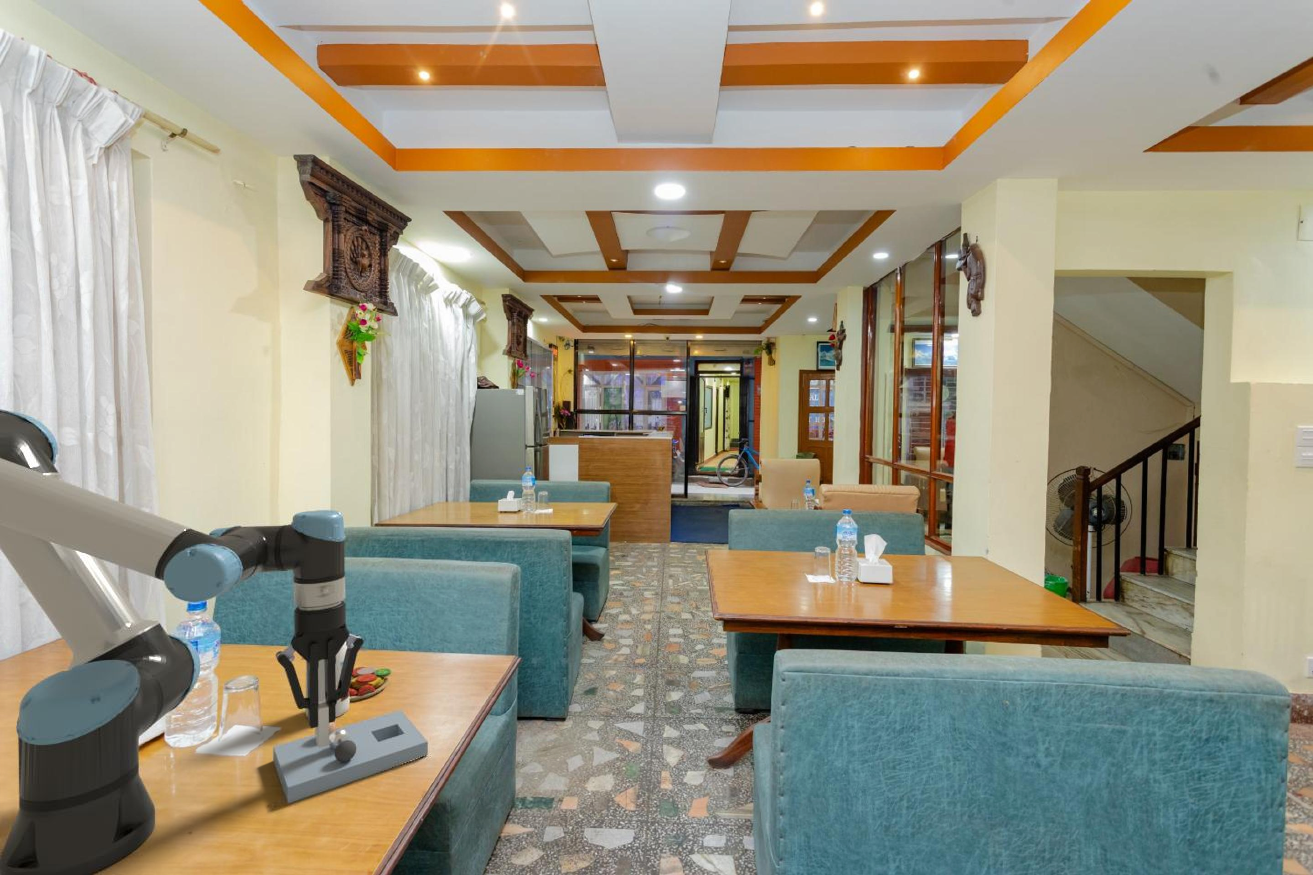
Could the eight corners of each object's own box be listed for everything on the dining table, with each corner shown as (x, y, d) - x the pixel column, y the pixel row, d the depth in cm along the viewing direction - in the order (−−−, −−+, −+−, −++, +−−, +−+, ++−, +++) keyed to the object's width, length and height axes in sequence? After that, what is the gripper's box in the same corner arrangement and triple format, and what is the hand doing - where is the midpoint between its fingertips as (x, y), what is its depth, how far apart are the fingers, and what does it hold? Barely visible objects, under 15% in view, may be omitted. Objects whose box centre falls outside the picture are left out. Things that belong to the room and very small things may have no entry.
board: (287, 803, 90) (287, 787, 90) (273, 760, 102) (273, 746, 102) (427, 755, 104) (427, 741, 104) (400, 722, 115) (400, 709, 115)
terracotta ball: (317, 744, 102) (317, 726, 102) (313, 737, 105) (313, 719, 105) (337, 738, 104) (337, 720, 104) (333, 731, 107) (333, 713, 107)
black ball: (337, 768, 95) (337, 748, 95) (332, 759, 98) (332, 740, 98) (358, 761, 97) (358, 741, 97) (353, 752, 100) (353, 734, 100)
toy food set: (306, 701, 124) (306, 686, 124) (348, 675, 137) (348, 661, 137) (364, 706, 122) (364, 691, 122) (401, 680, 135) (401, 665, 135)
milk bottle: (330, 723, 114) (330, 620, 114) (296, 719, 116) (296, 617, 116) (358, 705, 122) (358, 608, 122) (325, 701, 124) (325, 606, 123)
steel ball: (337, 730, 100) (354, 735, 101) (333, 722, 102) (350, 728, 104) (325, 749, 99) (343, 754, 100) (322, 741, 101) (339, 746, 103)
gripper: (277, 617, 92) (280, 767, 92) (368, 601, 100) (370, 739, 101) (271, 606, 98) (273, 747, 98) (357, 591, 106) (359, 722, 107)
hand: (322, 743), depth 99 cm, fingers closed
